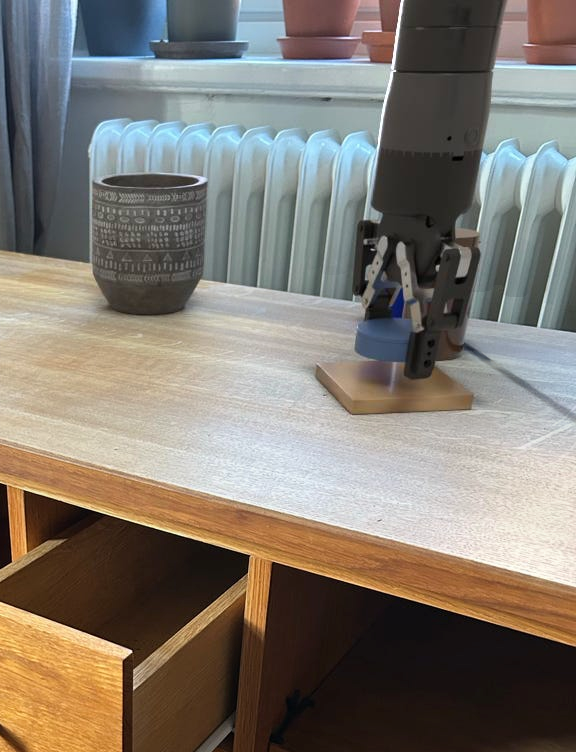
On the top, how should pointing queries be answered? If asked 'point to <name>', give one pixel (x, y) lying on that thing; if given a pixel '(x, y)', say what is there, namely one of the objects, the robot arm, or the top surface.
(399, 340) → the jar lid
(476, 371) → the top surface
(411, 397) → the plate
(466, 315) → the jar
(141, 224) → the planter
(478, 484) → the top surface
